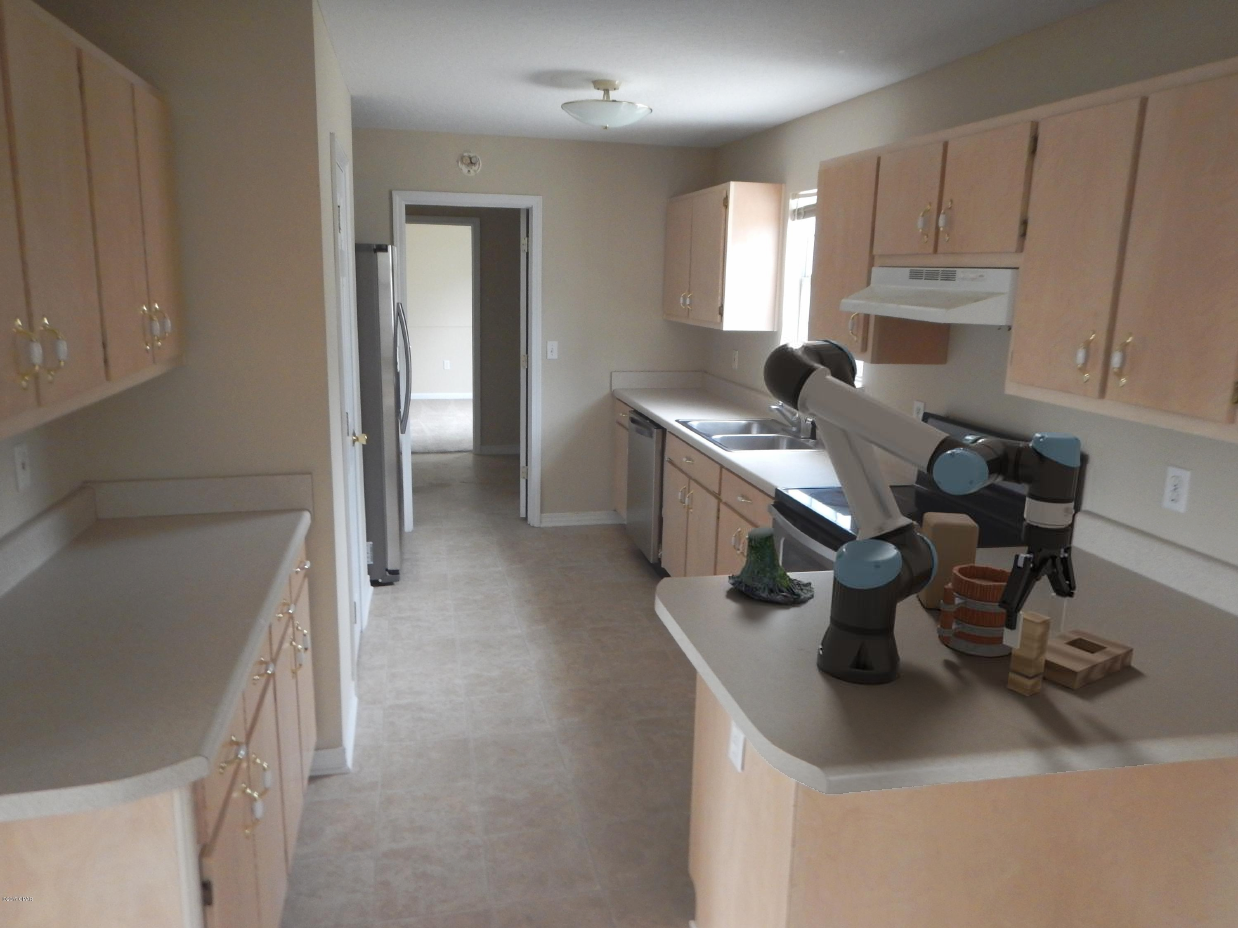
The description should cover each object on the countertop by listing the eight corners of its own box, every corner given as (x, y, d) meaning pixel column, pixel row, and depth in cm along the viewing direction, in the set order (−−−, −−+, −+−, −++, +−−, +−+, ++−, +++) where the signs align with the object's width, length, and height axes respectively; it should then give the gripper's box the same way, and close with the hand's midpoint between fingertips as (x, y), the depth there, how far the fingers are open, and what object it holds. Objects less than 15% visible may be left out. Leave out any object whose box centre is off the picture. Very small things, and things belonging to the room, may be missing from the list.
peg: (1027, 696, 158) (1038, 622, 155) (1006, 687, 161) (1016, 614, 158) (1040, 690, 160) (1051, 617, 157) (1019, 681, 163) (1029, 610, 160)
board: (1074, 689, 161) (1077, 671, 160) (1018, 666, 170) (1020, 649, 169) (1130, 664, 172) (1133, 648, 171) (1075, 644, 181) (1077, 628, 180)
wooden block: (958, 596, 206) (968, 513, 202) (970, 612, 197) (981, 525, 192) (913, 593, 207) (922, 510, 203) (923, 609, 198) (933, 522, 193)
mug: (1028, 648, 178) (1037, 577, 175) (969, 669, 168) (978, 594, 164) (967, 624, 190) (975, 557, 186) (908, 643, 179) (915, 572, 176)
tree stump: (833, 602, 201) (825, 531, 195) (755, 632, 196) (744, 559, 190) (791, 572, 218) (782, 506, 212) (718, 598, 212) (707, 531, 206)
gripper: (1026, 538, 144) (1011, 660, 148) (1106, 517, 158) (1091, 630, 162) (984, 527, 150) (972, 645, 154) (1065, 508, 164) (1052, 617, 168)
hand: (1033, 637), depth 158 cm, fingers open, 13 cm apart
